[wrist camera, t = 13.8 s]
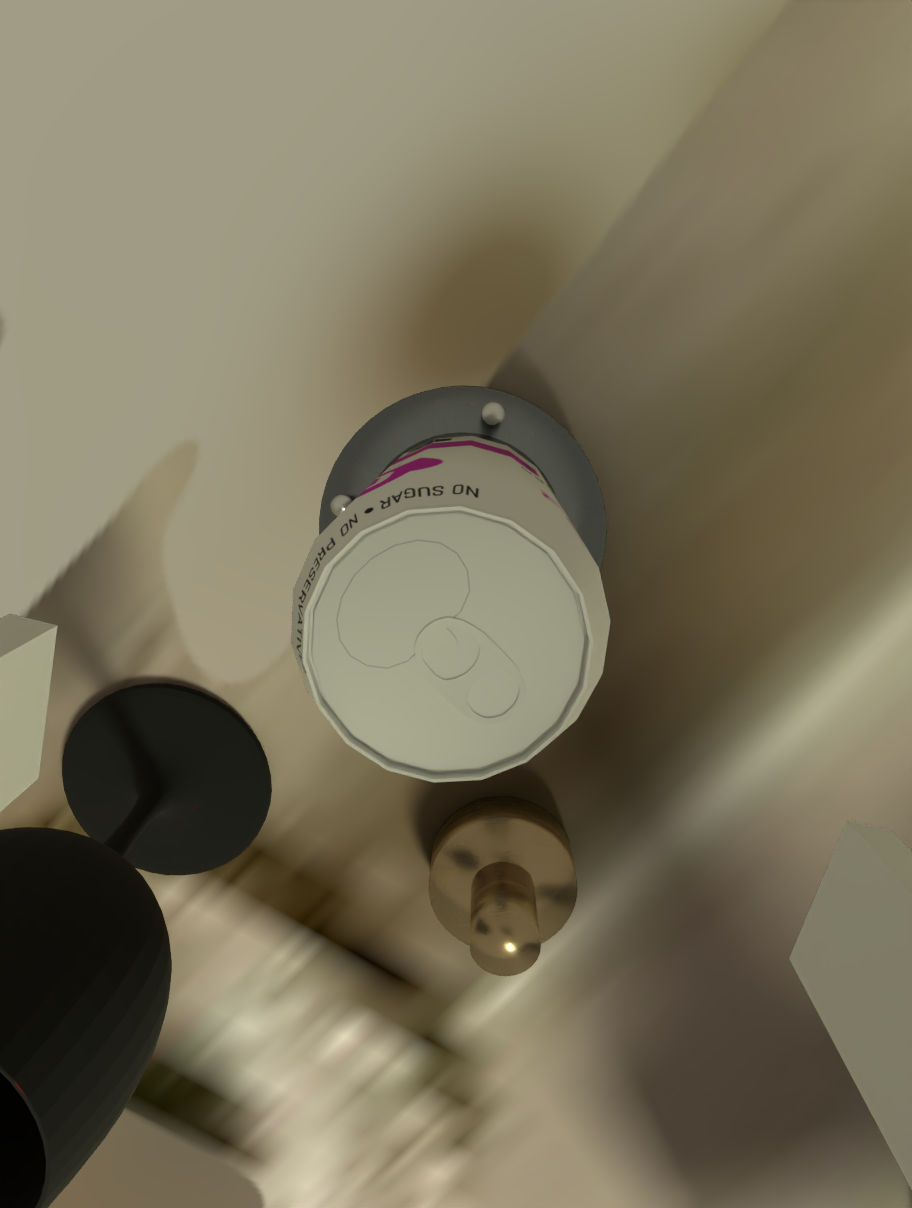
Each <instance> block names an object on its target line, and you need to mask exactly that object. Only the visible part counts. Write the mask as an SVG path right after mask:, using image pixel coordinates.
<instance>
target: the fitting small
mask: <svg viewBox="0 0 912 1208" xmlns="http://www.w3.org/2000/svg"><path fill="white" fill-rule="evenodd" d="M429 896H430V901H431V905H432V908H433V910H434V912H435V915H436V916H437V918H438V920H439V921H440V922H441V924H442V925H443V926H444V927H445V929H446V930H448V931H449V932H450V933H451V934H452V935H453V936H454V937H456V938H457V939H458V940H460V941H462V942H464V943H465V944H467V945H470V951H471V955H472V957H473V959H474V961H475V962H476V963H477V964H478V965H479V966H480V967H481V968H482V969H484V970H485V971H487V972H489V973H491V974H495V975H499V976H511V975H516V974H519V973H522V972H524V971H526V970H527V969H529V968H530V967H531V966H532V965H533V964H534V963H535V962H536V960H537V958H538V956H539V953H540V944H541V943H543V942H545V941H547V940H548V939H550V938H551V937H552V936H554V935H555V934H556V933H557V932H558V931H559V930H560V929H561V928H562V927H563V926H564V924H565V923H566V922H567V920H568V919H569V917H570V915H571V913H572V911H573V908H574V906H575V902H576V897H577V880H576V874H575V869H574V864H573V859H572V853H571V848H570V843H569V841H568V838H567V835H566V834H565V832H564V830H563V828H562V827H561V825H560V824H559V823H558V821H557V820H556V819H555V818H554V817H553V816H552V815H551V814H549V813H548V812H547V811H546V810H544V809H542V808H541V807H539V806H537V805H535V804H533V803H531V802H528V801H525V800H522V799H518V798H512V797H491V798H485V799H481V800H478V801H474V802H472V803H470V804H468V805H466V806H464V807H462V808H461V809H459V810H457V811H456V812H455V813H454V814H452V815H451V816H450V817H449V818H448V819H447V820H446V822H445V823H444V824H443V826H442V827H441V828H440V830H439V832H438V834H437V836H436V839H435V842H434V845H433V850H432V859H431V868H430V878H429Z"/></svg>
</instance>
